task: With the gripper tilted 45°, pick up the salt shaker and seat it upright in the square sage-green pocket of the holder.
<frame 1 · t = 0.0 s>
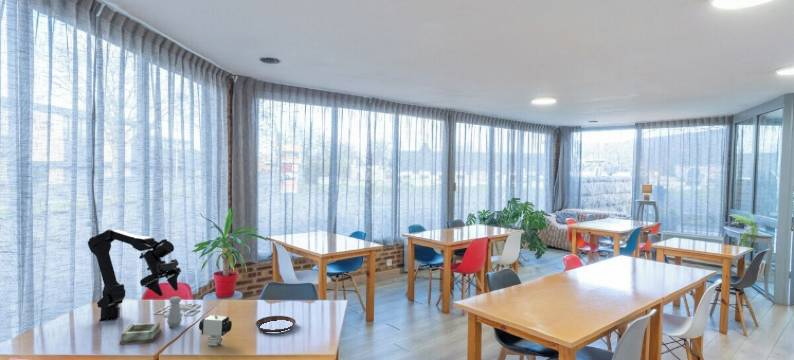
hand: (169, 293, 183), 15 cm above the table, tool tilted 35°, fingers open, 9 cm apart
floor plan model: (185, 313, 203), on the table
shaker holder: (141, 337, 169), on the table
salt shaker: (174, 326, 183), on the table
pneumatic valve: (215, 344, 166), on the table
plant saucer: (275, 329, 186), on the table
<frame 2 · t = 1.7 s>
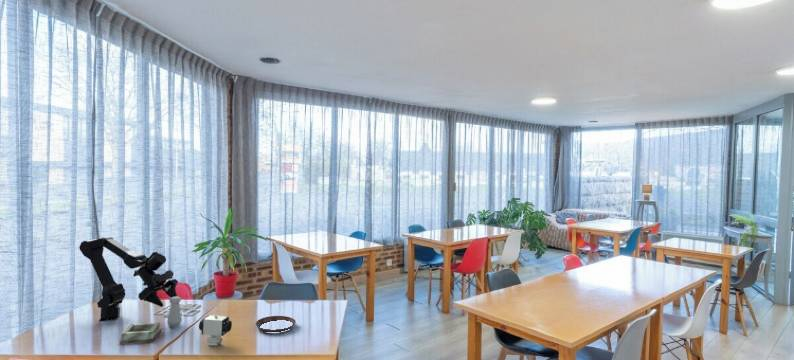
hand: (170, 303, 184), 10 cm above the table, tool tilted 45°, fingers open, 9 cm apart
nothing on the table moved.
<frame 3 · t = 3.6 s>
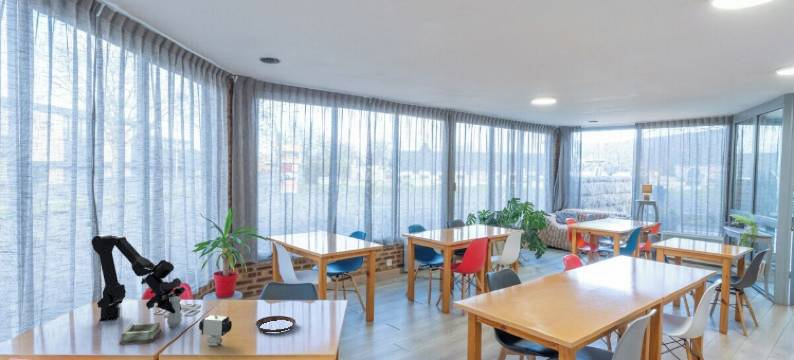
hand: (177, 311, 183), 7 cm above the table, tool tilted 45°, fingers closed on salt shaker, 3 cm apart
salt shaker: (174, 326, 183), on the table, touching gripper
everything else where it was.
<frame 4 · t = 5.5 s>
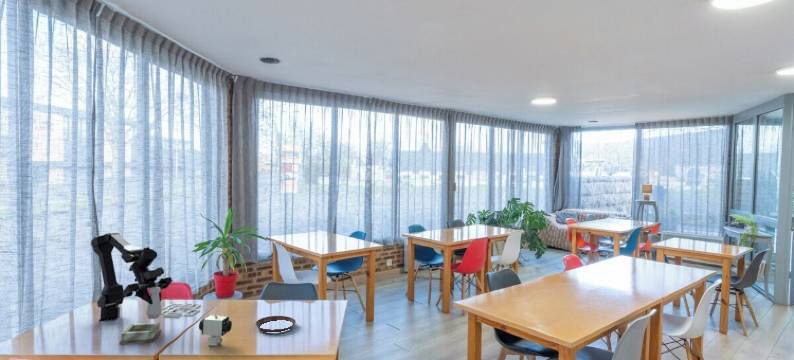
hand: (156, 302, 173), 13 cm above the table, tool tilted 45°, fingers closed on salt shaker, 3 cm apart
salt shaker: (153, 317, 174), point 7 cm above the table, touching gripper
everything else where it was.
when the fingers open (9 cm above the table, at t = 7.2 s): salt shaker stays where it is, point 1 cm above the table.
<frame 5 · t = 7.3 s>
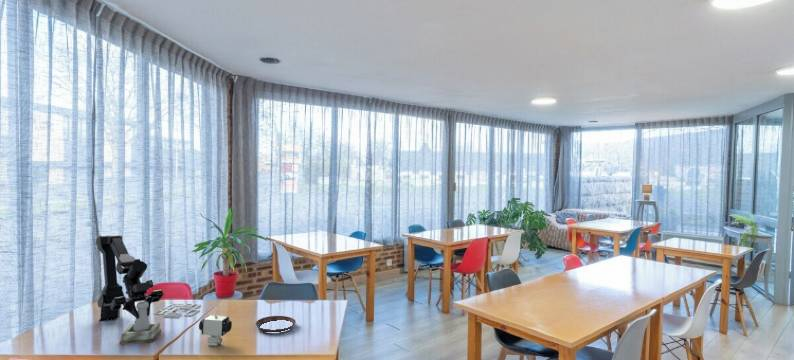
hand: (143, 317, 168), 9 cm above the table, tool tilted 45°, fingers open, 4 cm apart
salt shaker: (141, 333, 169), point 1 cm above the table
everything else where it was.
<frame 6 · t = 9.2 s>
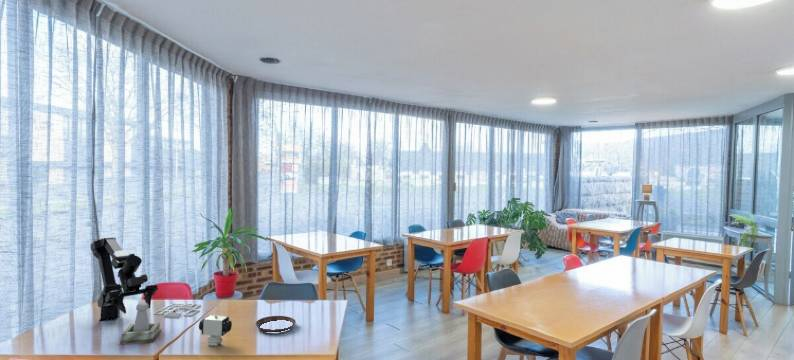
hand: (137, 310, 171), 10 cm above the table, tool tilted 45°, fingers open, 9 cm apart
salt shaker: (141, 335, 169), point 1 cm above the table, touching shaker holder
everything else where it was.
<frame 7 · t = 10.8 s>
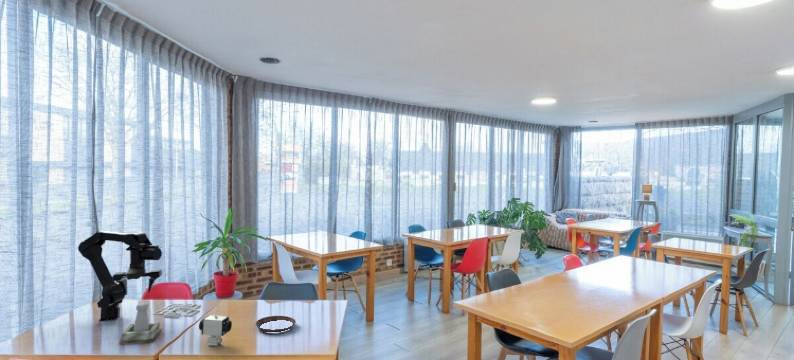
hand: (137, 293, 187), 13 cm above the table, tool pointing down, fingers open, 9 cm apart
nothing on the table moved.
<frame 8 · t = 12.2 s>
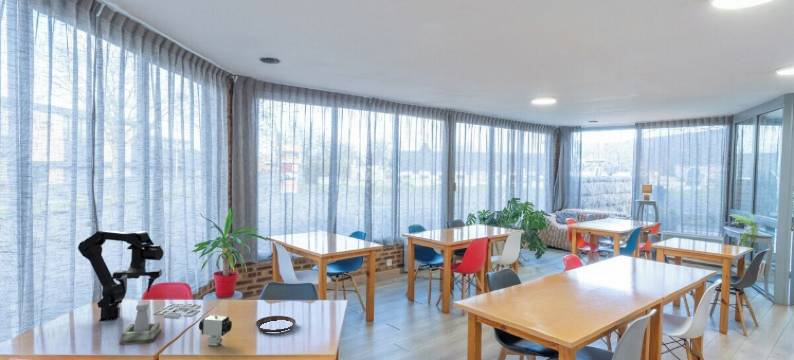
hand: (137, 292, 188), 13 cm above the table, tool pointing down, fingers open, 9 cm apart
nothing on the table moved.
at the end: salt shaker 0.2 cm off-centre on the shaker holder, point 0.8 cm above the shaker holder's base; salt shaker tilted 0°; the gripper is holding nothing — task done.
